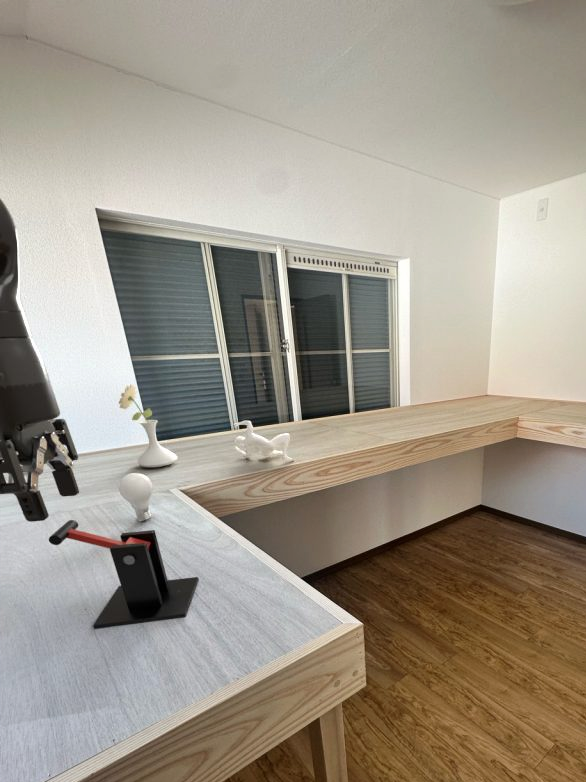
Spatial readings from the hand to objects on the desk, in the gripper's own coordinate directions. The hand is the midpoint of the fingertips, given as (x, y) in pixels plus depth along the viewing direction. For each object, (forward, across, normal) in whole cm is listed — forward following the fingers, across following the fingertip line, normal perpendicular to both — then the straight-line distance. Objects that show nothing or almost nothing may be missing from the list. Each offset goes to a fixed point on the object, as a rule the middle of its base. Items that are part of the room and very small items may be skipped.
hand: (55, 506), depth 55 cm
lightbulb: (+18, -35, -3) cm, 39 cm away
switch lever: (+7, 0, +4) cm, 8 cm away
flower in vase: (+18, -79, -12) cm, 82 cm away
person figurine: (+18, -78, +21) cm, 83 cm away
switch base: (+18, 0, +8) cm, 19 cm away
